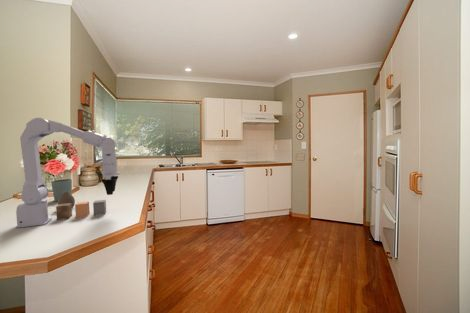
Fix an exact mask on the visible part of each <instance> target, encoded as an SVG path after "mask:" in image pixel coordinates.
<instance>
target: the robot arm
mask: <svg viewBox="0 0 470 313" xmlns="http://www.w3.org/2000/svg"><path fill="white" fill-rule="evenodd" d="M25 126H26V127H25V128H24V129H23V132H21V135H20V147H21V155H22V163H23V164H22V165H23V170H24V178H25V180H24V183H23V185H22V192H21V194H20V198H21V199H20V200H21V201H22V202H23V203H19V204H18V205H17V206H16V211H15V213H16V228H19V229H20V228H25V227H34V226H35V227H36V226H41V225H46V224H48V223H49V222H50V221H51V220H53V217H49V210H48V209H49V208H48V199H47V197H48V195H49V193H50V192H49V188H48V187H47V186H46V182H45V180H44V178H43V175H42V174H43V173H42V168H41V167H42V166H41V159H40V151H39V143H38V142H39V141H41V140H42V139H43V138H44V137H47V136H50V135H52V134H54V133H65V134H67V135H71V136H74V137H76V138H80V139H81V140H82V142H83V143H85V144H88V145H90V146H94V147H96V148H101V151H102V152H101V154H102V155H101V159H102V176H103V177H104V178H103V179H101V182H102V184H103V186H104V189H105V192H106V195H107V196H109V195H111V196H112V195H113V194H114V192H115V190H116V185H117V182H118V179H119V175H120V174H121V172H118V167H117V166H118V164H117V153H116V152H117V151H116V146H117V142H116V141H115V139H114V138H111V137H107V135H106V134H104V135H102V134H101V133H97V132H96V130H87V131H86V130H85V131H83V130H81V129H79V128H76V127H73V126H70V125H68V124H66V123H62V122H58V121H54V120H49V119H44V118H42V117H34V118H32V119H30V120H29V121H28V122H26V124H25Z"/></svg>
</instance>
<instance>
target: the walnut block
mask: <svg viewBox="0 0 470 313" xmlns="http://www.w3.org/2000/svg"><path fill="white" fill-rule="evenodd" d="M55 208H56V210H55V211H56V221H60V220H68V219H71V217H73V211H72V210H73V208H72V205H71V203H66V204H59V205H58V204H57V205H56V207H55Z"/></svg>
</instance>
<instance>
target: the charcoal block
mask: <svg viewBox="0 0 470 313" xmlns="http://www.w3.org/2000/svg"><path fill="white" fill-rule="evenodd" d="M92 206H93V216H102V215H103V214H104V215H106V213H107V200H106V199H100V200H94V201H93V203H92Z"/></svg>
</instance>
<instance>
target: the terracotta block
mask: <svg viewBox="0 0 470 313" xmlns="http://www.w3.org/2000/svg"><path fill="white" fill-rule="evenodd" d="M74 207H75V209H74V210H75V218H84V217H85V218H86V217H88V216H89V215H90V214H91V212H90V201H89V200H88V201H80V202H79V201H78V202H75V204H74Z"/></svg>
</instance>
